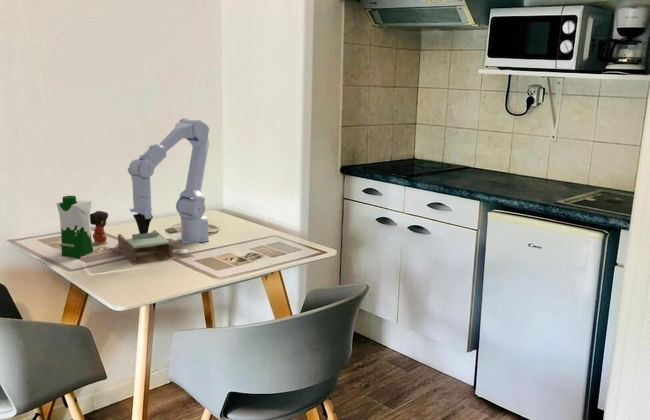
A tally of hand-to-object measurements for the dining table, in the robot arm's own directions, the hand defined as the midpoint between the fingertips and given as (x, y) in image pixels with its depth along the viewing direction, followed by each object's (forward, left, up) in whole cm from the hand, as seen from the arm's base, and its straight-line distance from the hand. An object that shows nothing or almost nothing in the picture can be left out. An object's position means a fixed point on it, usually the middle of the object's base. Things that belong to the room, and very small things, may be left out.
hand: (143, 235), depth 200 cm
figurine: (+11, -16, -6) cm, 21 cm away
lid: (0, +5, -1) cm, 5 cm away
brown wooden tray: (-3, +1, -6) cm, 7 cm away
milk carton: (+20, -7, -6) cm, 22 cm away
